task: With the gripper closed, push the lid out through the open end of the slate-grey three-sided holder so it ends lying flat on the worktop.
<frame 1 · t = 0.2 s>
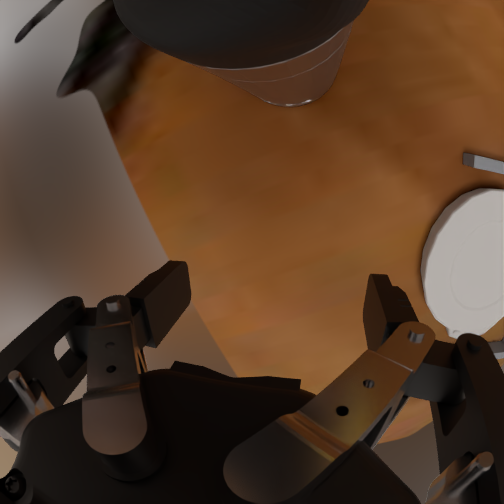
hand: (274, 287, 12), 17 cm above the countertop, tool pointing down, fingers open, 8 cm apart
lid: (477, 266, 26), on the countertop
lid holder: (479, 268, 26), on the countertop
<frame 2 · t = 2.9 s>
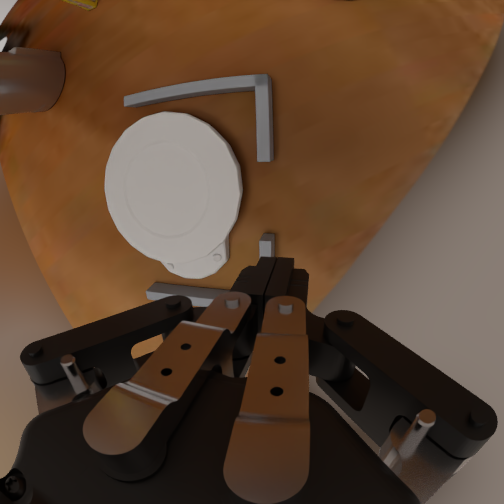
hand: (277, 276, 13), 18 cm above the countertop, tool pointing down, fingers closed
lid: (179, 196, 33), on the countertop
lid holder: (177, 197, 32), on the countertop
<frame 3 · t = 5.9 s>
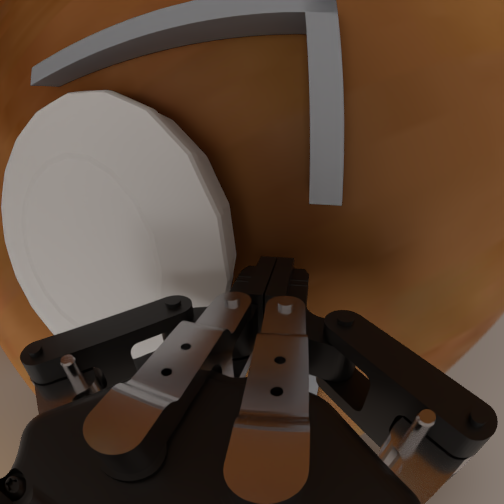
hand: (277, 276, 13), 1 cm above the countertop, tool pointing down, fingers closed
lid: (117, 257, 17), on the countertop
lid holder: (130, 260, 16), on the countertop
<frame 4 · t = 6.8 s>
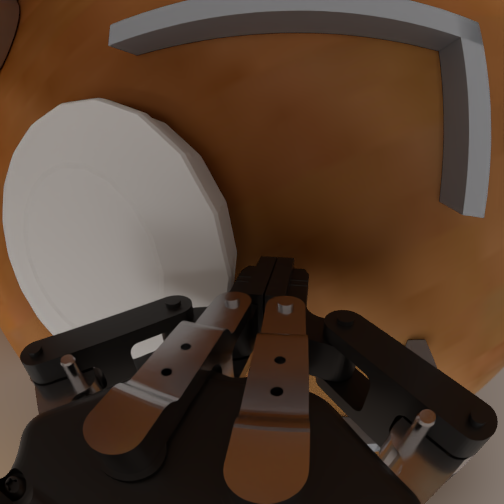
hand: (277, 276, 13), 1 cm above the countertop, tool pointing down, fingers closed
lid: (120, 263, 17), on the countertop, touching gripper
lid holder: (234, 266, 15), on the countertop
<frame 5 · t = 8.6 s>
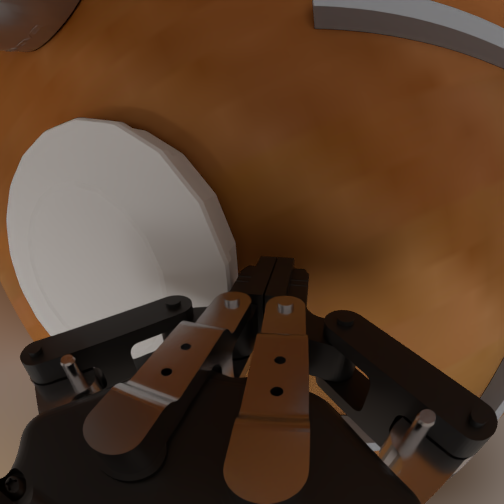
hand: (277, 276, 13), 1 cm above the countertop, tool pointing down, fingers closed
lid: (127, 276, 17), on the countertop
lid holder: (411, 273, 13), on the countertop
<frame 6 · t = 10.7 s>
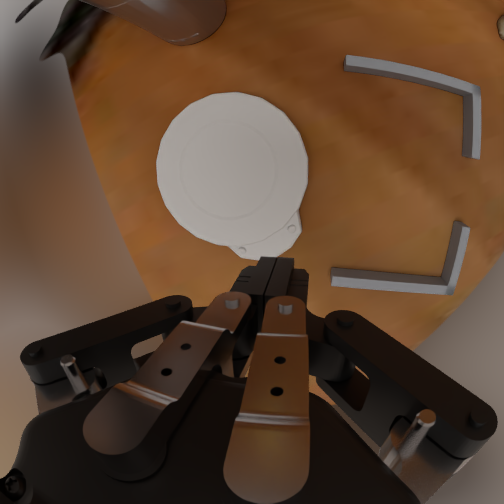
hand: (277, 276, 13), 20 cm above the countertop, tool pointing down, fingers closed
lid: (239, 178, 33), on the countertop
lid holder: (384, 175, 29), on the countertop
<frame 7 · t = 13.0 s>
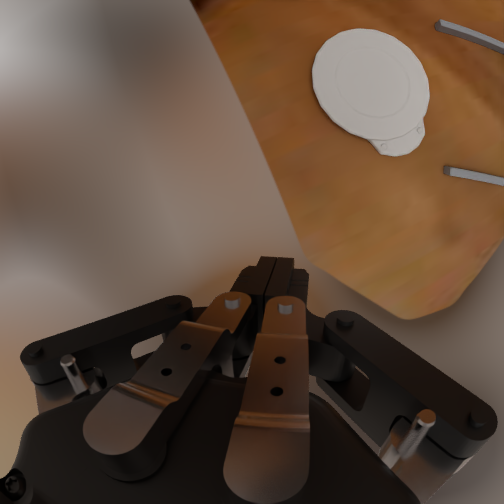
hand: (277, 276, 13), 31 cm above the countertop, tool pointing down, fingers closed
lid: (374, 93, 34), on the countertop
lid holder: (469, 100, 30), on the countertop
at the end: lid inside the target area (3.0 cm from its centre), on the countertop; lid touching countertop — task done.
